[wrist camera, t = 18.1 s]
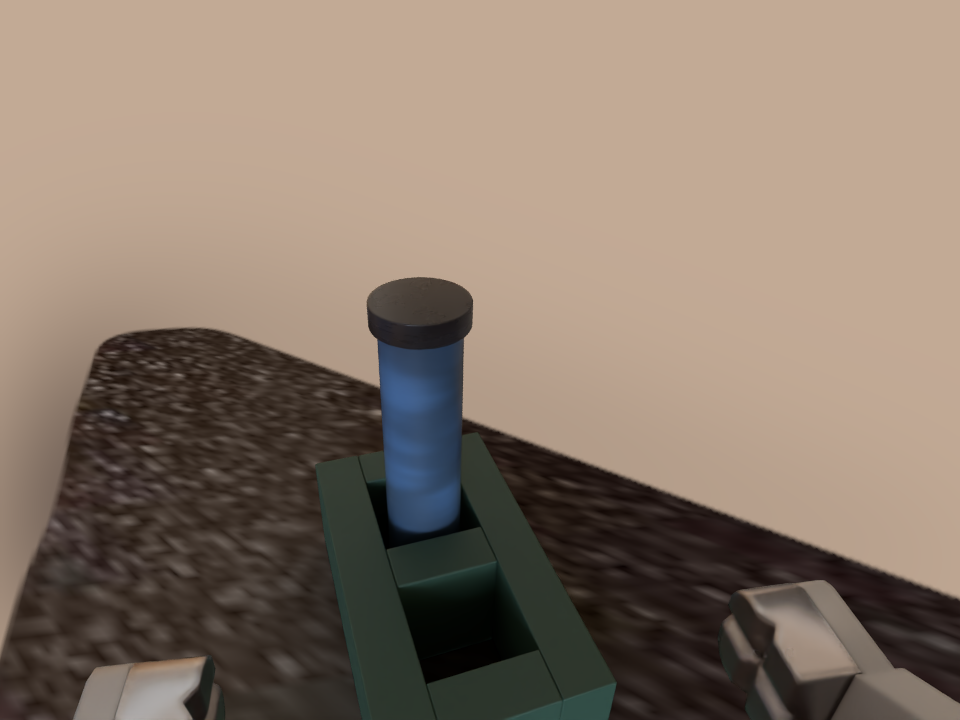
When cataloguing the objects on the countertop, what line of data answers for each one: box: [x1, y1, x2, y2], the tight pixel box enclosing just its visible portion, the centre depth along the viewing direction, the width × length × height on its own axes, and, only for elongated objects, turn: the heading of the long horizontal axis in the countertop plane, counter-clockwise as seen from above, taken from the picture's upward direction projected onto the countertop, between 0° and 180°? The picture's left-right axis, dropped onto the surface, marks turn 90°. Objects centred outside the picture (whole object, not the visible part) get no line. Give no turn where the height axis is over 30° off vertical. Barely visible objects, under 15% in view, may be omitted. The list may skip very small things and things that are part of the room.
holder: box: [315, 432, 617, 720], centre depth 28 cm, size 8×14×5 cm, turn 19°
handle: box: [367, 277, 473, 548], centre depth 28 cm, size 4×4×15 cm
